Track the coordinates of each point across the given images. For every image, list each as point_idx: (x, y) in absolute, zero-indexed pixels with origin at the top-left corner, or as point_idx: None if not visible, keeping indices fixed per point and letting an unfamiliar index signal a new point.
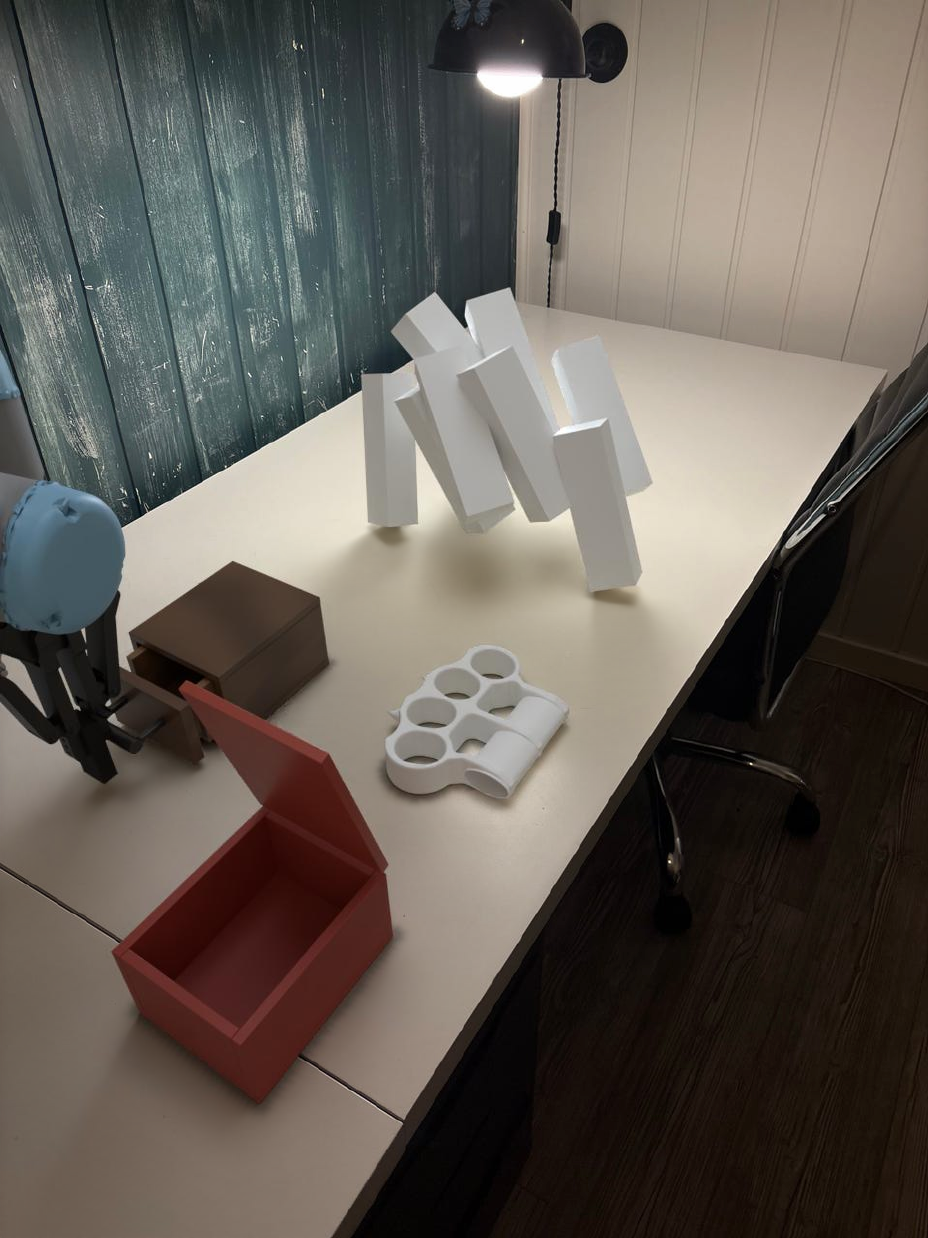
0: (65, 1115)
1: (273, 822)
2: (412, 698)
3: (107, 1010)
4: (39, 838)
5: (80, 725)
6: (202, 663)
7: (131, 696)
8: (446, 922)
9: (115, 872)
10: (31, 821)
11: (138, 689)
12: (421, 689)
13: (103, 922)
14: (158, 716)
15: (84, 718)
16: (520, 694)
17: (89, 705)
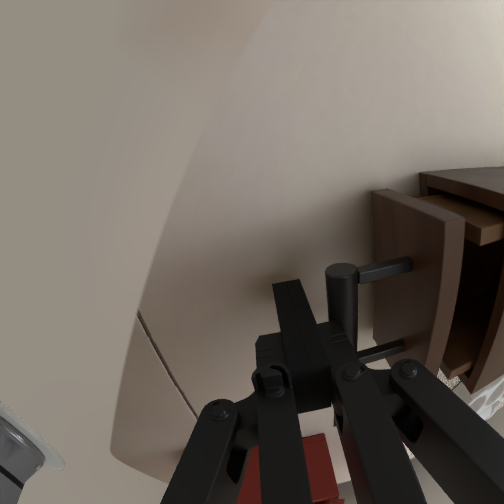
0: (136, 451)
1: (329, 499)
2: (483, 394)
3: (171, 439)
4: (178, 294)
5: (302, 400)
6: (490, 363)
7: (418, 293)
8: (345, 472)
9: (226, 380)
10: (180, 261)
11: (430, 337)
12: (491, 389)
13: (194, 405)
14: (404, 337)
15: (320, 391)
16: (493, 404)
17: (339, 432)
